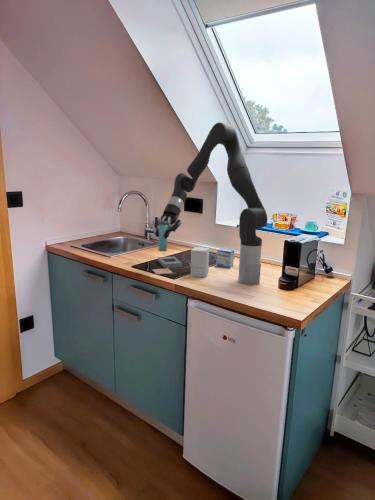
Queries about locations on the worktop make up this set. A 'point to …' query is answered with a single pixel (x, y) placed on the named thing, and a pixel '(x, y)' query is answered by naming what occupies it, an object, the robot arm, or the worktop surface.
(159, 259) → the grey base plate
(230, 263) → the medicine box
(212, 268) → the worktop surface
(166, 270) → the coaster
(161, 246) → the plug
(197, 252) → the supplement box
